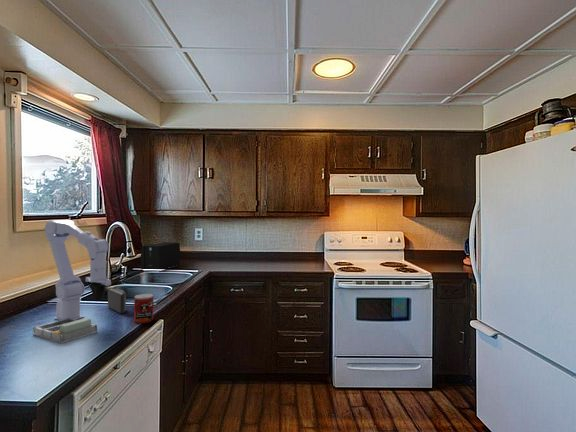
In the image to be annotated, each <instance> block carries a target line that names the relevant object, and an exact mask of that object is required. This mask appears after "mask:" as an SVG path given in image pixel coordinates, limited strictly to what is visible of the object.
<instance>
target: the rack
mask: <svg viewBox="0 0 576 432" xmlns="http://www.w3.org/2000/svg"><path fill="white" fill-rule="evenodd" d="M77 320H78V319H76V320H75V319H71V318H67V319H63V320H56V321H51V322H49V323H44V324H41V325H37V326H33V328H32V329H33V331H32V333H33V335H34V336H37V337H40V338H44V339H46V340H49V341H53V342H55V343H59V344H64V343H68V342H71V341H73V340H76V339H80V338H83V337H86V336H89V335H90V336H91V335H93V334H95V333H98V325H97V324H95V323H91V326H90V327H86V328H83V329H79V330H76V331H73V332H69V333H66V334H61V332H60V325H62V324H66V323H70V322H73V321H77Z"/></svg>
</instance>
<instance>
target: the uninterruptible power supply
mask: <svg viewBox="0 0 576 432" xmlns="http://www.w3.org/2000/svg"><path fill="white" fill-rule="evenodd" d="M139 258H140V259H139V260H140V266H141V269H164V268H168V267H172V266H176V265H179V266H180V261H181V245H180V242H171V241H169V242H168V241H166V242H164V241H163V242H158V243H157V242H156V243H150V244H145V245H144V244H143V245H141V251H140V257H139Z"/></svg>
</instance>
